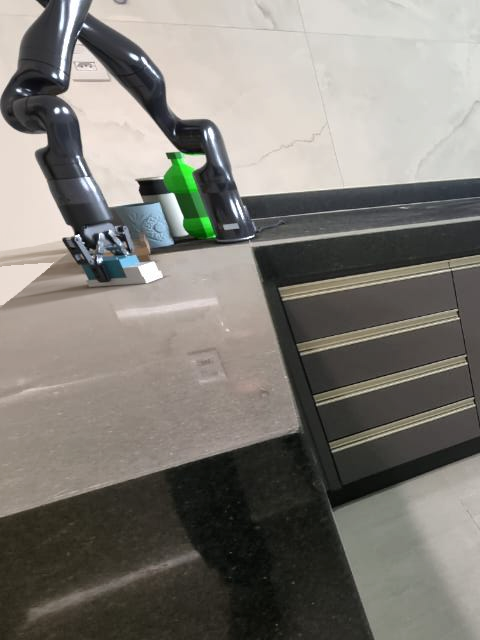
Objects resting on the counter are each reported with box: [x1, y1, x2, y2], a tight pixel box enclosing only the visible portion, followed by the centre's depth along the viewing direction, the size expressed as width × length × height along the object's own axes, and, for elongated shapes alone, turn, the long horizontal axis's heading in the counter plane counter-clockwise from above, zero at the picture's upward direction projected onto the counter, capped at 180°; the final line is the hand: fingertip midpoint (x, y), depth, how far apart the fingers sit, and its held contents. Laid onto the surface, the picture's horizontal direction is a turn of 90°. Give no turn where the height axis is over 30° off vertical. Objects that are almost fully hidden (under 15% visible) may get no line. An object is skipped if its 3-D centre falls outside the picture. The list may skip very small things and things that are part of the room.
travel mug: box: [134, 175, 190, 239], centre depth 166 cm, size 8×8×18 cm
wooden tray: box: [90, 232, 153, 262], centre depth 137 cm, size 18×12×6 cm, turn 41°
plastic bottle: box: [163, 151, 216, 240], centre depth 161 cm, size 10×10×25 cm
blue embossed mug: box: [114, 202, 175, 249], centre depth 154 cm, size 10×10×12 cm
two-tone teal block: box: [80, 255, 164, 288], centre depth 117 cm, size 12×5×6 cm, turn 95°
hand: (117, 277), depth 118 cm, fingers open, 6 cm apart
